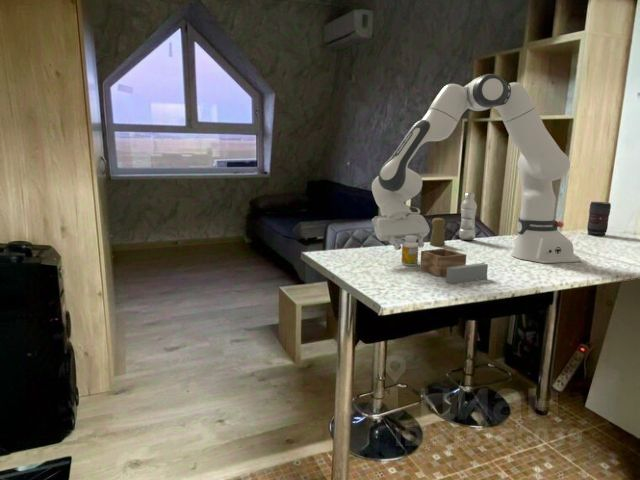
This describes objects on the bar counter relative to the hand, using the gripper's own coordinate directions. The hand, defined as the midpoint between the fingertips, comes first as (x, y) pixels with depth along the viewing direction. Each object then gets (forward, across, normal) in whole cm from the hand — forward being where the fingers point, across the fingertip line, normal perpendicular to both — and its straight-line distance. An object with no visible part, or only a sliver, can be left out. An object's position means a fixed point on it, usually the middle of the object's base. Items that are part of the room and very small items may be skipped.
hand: (410, 247), depth 159 cm
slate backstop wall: (+20, +4, -12) cm, 24 cm away
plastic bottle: (-13, +46, +21) cm, 52 cm away
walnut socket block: (+12, +4, -4) cm, 14 cm away
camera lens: (-2, +109, +11) cm, 109 cm away
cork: (-11, +28, +19) cm, 36 cm away
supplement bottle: (+4, 0, +4) cm, 6 cm away
